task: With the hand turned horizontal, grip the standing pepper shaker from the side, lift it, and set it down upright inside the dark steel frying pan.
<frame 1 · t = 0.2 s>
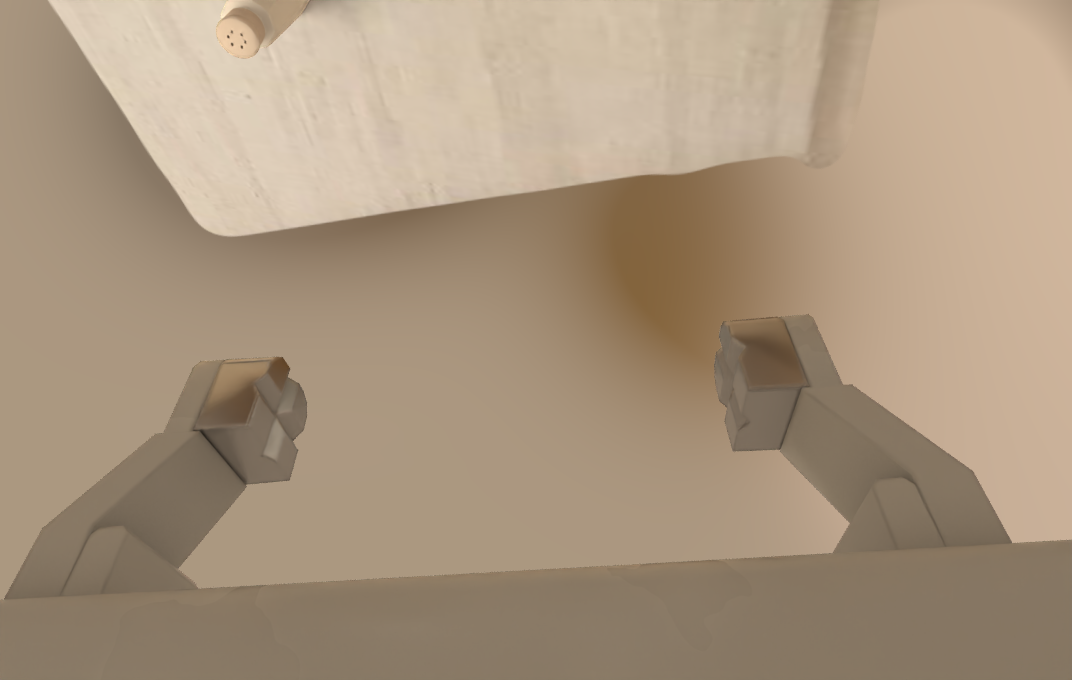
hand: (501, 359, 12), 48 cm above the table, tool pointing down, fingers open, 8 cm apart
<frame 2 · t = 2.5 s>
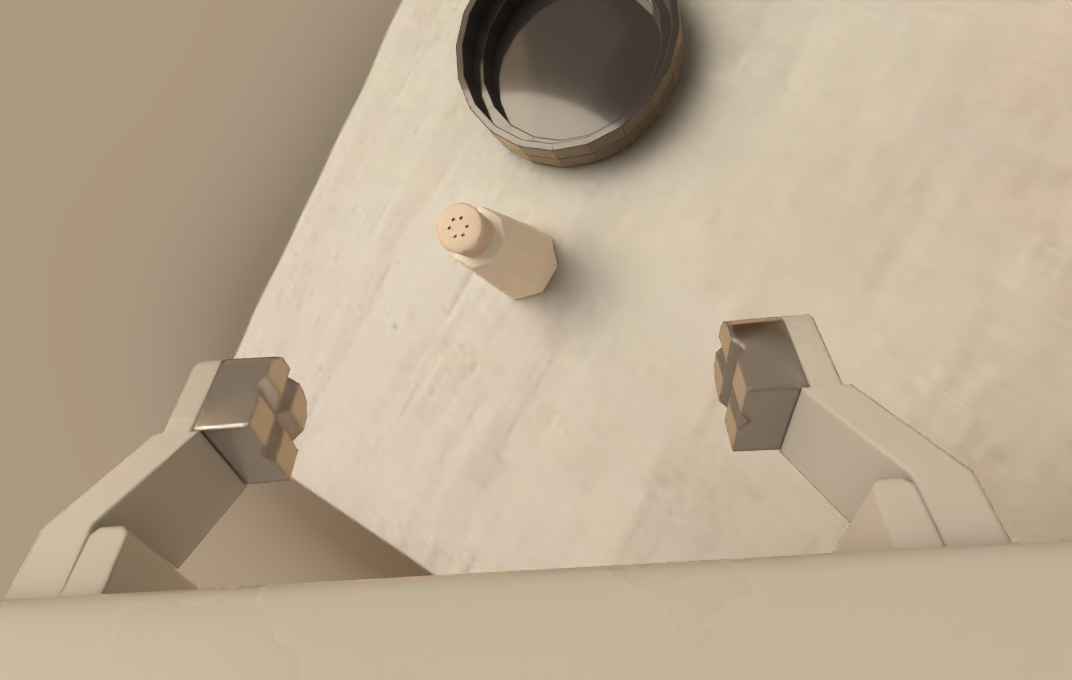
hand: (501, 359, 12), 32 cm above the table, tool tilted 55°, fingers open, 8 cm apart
pepper shaker: (523, 263, 46), on the table
pan: (575, 64, 45), on the table
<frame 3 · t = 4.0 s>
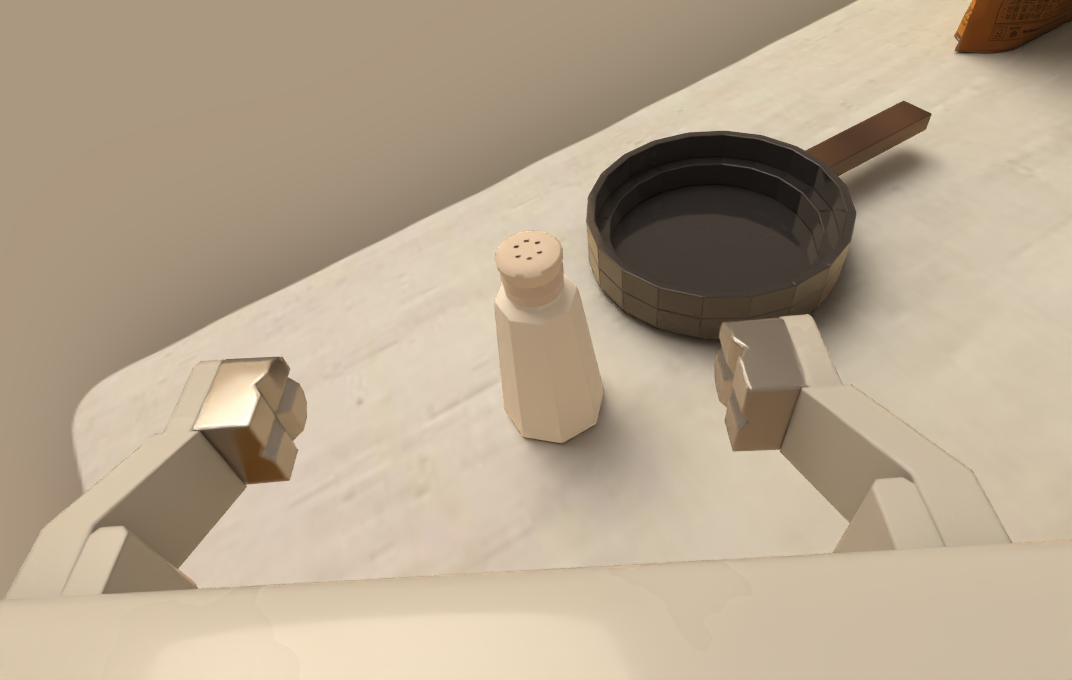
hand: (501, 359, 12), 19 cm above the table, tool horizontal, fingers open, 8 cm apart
pan handle: (861, 142, 41), point 2 cm above the table
pepper shaker: (554, 403, 35), on the table
pan: (709, 252, 40), on the table
pancake mix bag: (1033, 25, 53), on the table
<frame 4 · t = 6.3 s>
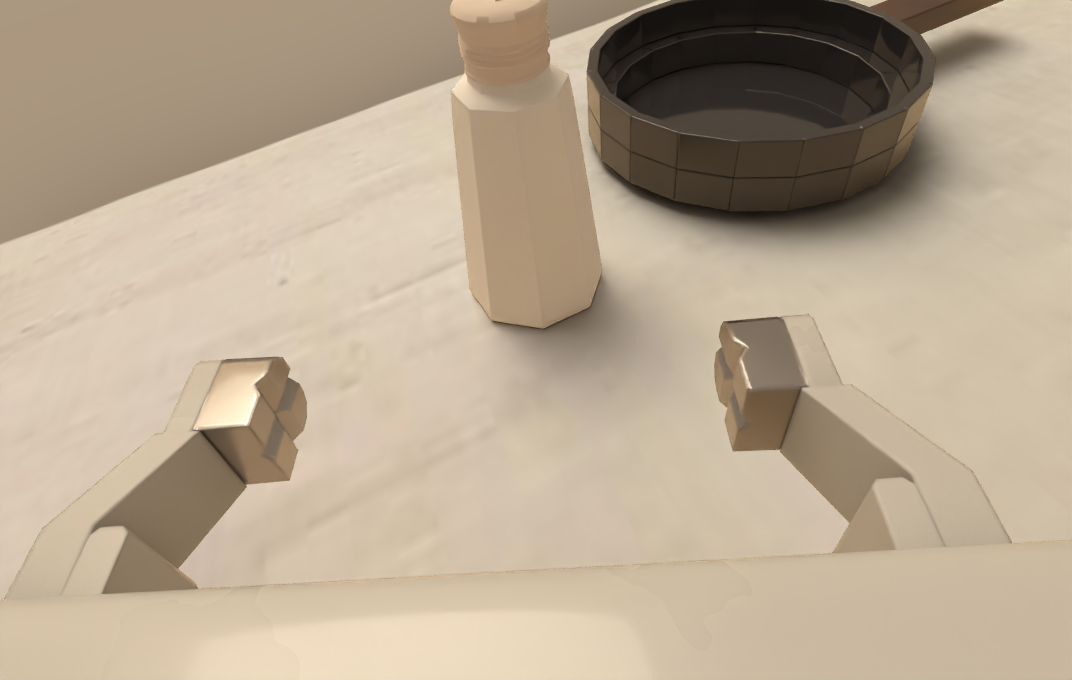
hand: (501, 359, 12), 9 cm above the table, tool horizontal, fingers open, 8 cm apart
pan handle: (929, 7, 33), point 2 cm above the table
pepper shaker: (536, 286, 26), on the table
pan: (740, 128, 32), on the table
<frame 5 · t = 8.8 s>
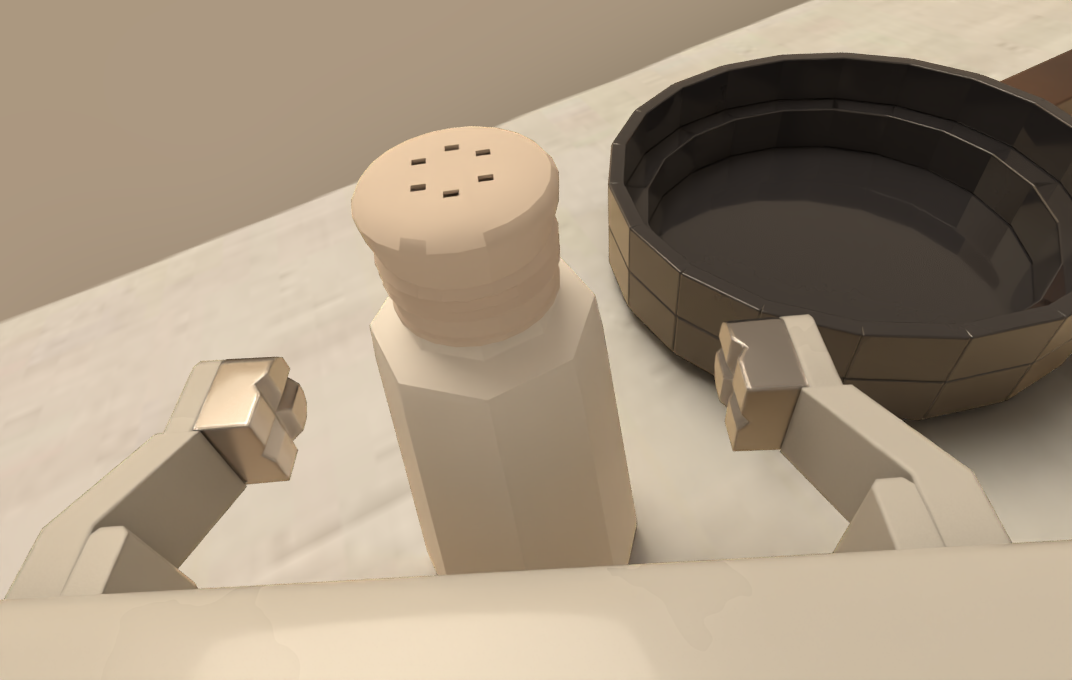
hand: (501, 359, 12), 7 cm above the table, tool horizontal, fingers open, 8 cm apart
pepper shaker: (533, 543, 17), on the table
pan: (822, 253, 23), on the table
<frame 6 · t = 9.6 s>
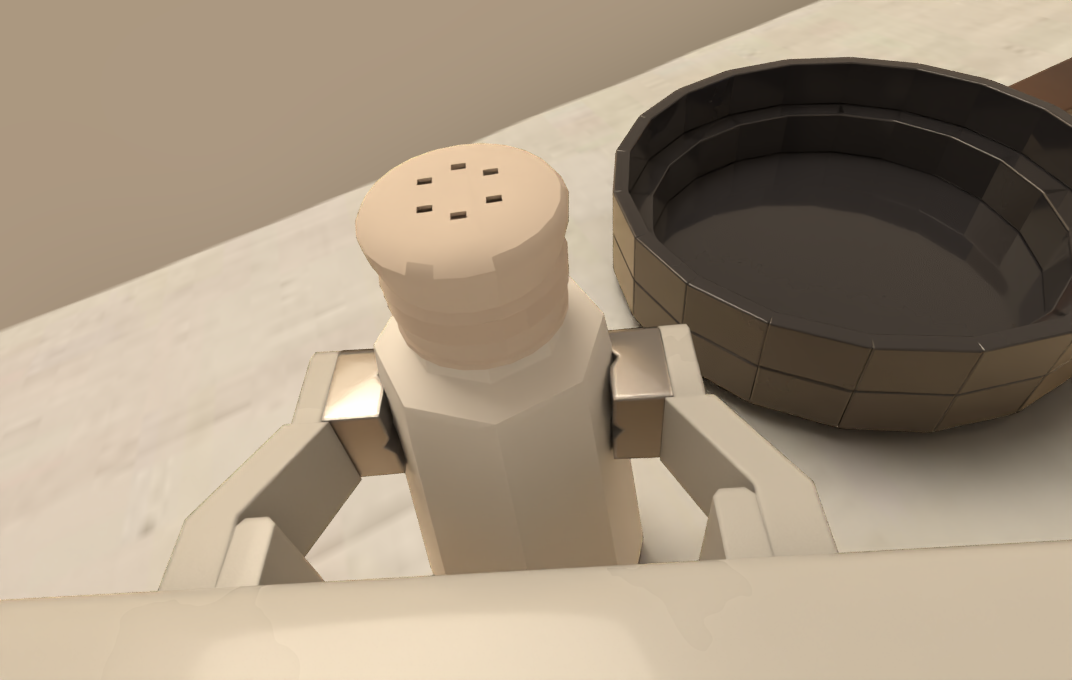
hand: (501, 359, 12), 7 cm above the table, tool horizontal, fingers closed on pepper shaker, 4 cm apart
pepper shaker: (538, 558, 16), on the table, touching gripper
pan: (829, 261, 22), on the table
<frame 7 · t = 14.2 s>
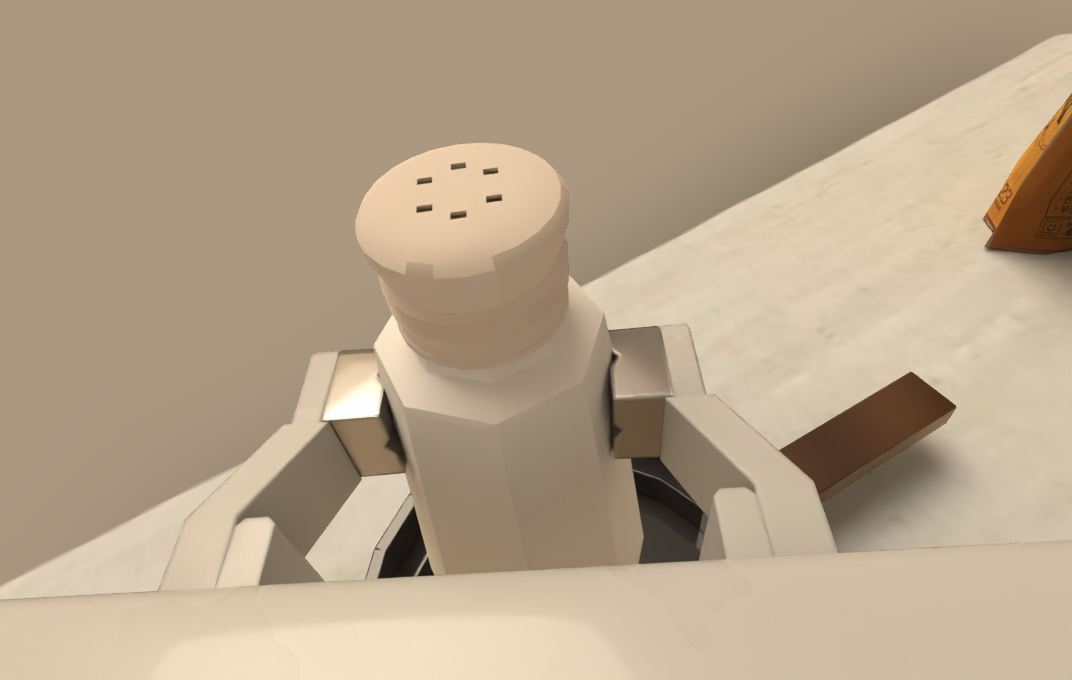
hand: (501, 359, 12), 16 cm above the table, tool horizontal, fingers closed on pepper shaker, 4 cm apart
pan handle: (841, 451, 25), point 2 cm above the table
pepper shaker: (538, 558, 16), point 9 cm above the table, touching gripper
pan: (583, 637, 24), on the table
when the fingers open (7 cm above the table, at t = 17.2 s): pepper shaker stays where it is, resting on pan.
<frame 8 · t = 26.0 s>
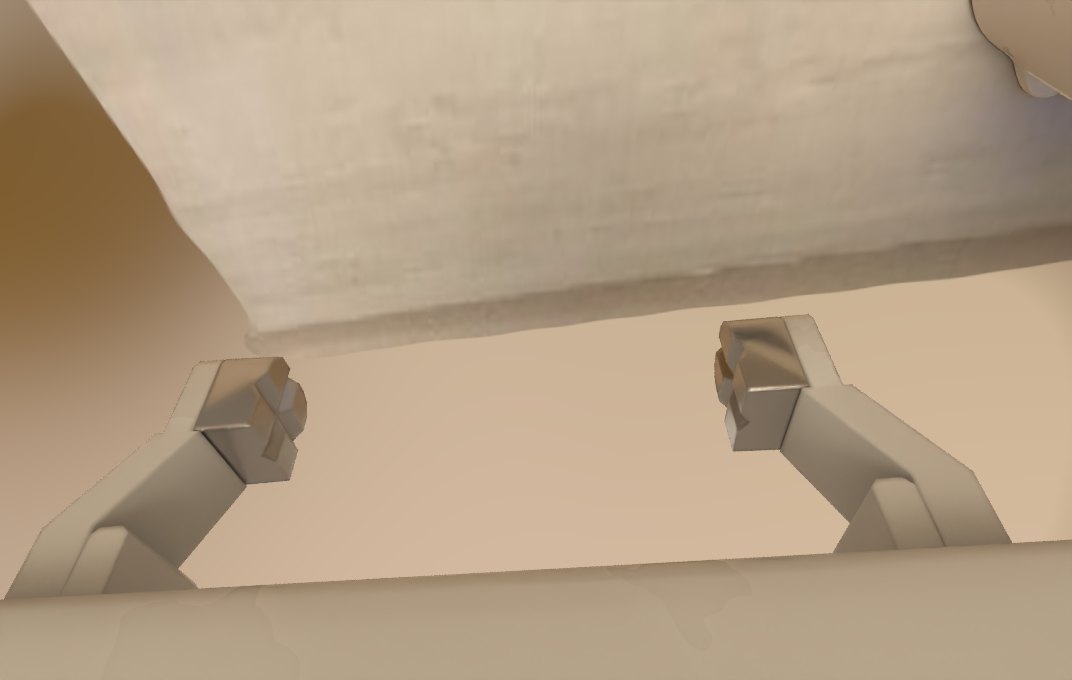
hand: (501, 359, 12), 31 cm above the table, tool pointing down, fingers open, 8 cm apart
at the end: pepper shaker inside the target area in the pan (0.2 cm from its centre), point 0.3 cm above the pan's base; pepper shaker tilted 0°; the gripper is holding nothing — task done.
